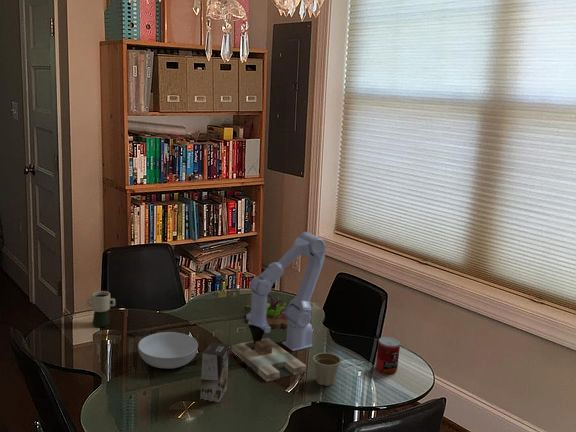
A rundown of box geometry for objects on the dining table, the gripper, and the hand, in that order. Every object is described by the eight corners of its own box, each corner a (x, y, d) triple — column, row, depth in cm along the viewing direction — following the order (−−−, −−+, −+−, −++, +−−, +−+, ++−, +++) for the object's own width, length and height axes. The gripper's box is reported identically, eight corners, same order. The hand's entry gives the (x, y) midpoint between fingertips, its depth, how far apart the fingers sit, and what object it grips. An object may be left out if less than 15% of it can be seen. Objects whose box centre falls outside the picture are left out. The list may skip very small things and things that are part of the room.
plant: (254, 308, 288) (256, 284, 286) (298, 314, 285) (300, 289, 282) (242, 325, 269) (243, 299, 267) (288, 331, 266) (290, 305, 263)
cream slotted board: (267, 343, 252) (267, 337, 251) (305, 372, 231) (306, 365, 230) (230, 351, 243) (230, 345, 243) (266, 381, 222) (267, 374, 222)
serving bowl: (125, 367, 226) (126, 349, 224) (157, 345, 245) (158, 327, 243) (179, 381, 219) (179, 362, 217) (207, 356, 238) (208, 339, 237)
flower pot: (330, 391, 219) (332, 367, 217) (306, 382, 223) (308, 359, 221) (343, 381, 226) (345, 358, 224) (320, 373, 231) (321, 350, 229)
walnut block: (265, 348, 242) (265, 339, 241) (271, 353, 238) (272, 344, 238) (254, 350, 240) (255, 341, 239) (261, 355, 236) (261, 346, 235)
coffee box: (219, 403, 207) (221, 355, 203) (199, 399, 208) (201, 352, 204) (227, 389, 215) (229, 344, 212) (208, 386, 216) (210, 341, 213)
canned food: (384, 375, 232) (387, 347, 230) (371, 366, 239) (374, 338, 236) (401, 372, 236) (404, 344, 233) (388, 363, 242) (391, 335, 240)
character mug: (116, 321, 263) (116, 291, 260) (113, 328, 256) (114, 297, 253) (88, 321, 262) (88, 290, 259) (85, 328, 255) (84, 296, 252)
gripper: (239, 304, 243) (238, 338, 246) (259, 318, 231) (257, 353, 235) (256, 301, 247) (254, 335, 250) (276, 314, 235) (274, 349, 238)
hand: (256, 343), depth 243 cm, fingers closed
